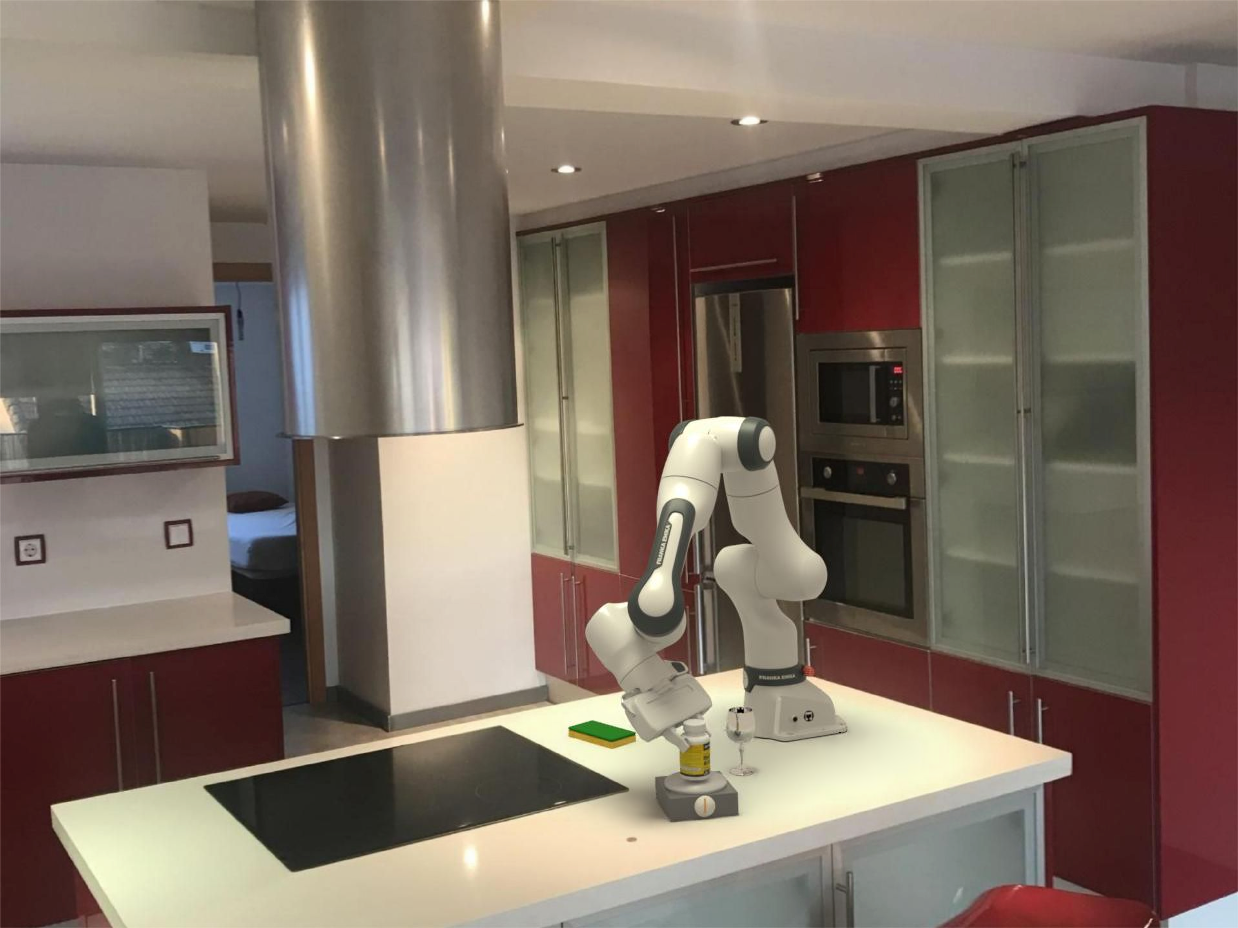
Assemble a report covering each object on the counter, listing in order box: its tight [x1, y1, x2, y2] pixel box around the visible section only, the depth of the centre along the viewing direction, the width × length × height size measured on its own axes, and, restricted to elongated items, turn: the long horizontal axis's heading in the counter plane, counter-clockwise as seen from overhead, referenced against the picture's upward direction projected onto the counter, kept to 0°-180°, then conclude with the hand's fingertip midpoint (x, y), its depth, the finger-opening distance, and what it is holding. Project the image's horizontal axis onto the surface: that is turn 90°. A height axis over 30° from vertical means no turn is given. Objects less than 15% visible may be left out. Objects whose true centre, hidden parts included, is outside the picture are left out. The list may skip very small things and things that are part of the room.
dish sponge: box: [567, 719, 637, 750], centre depth 271 cm, size 7×14×2 cm, turn 43°
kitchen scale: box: [654, 770, 739, 823], centre depth 228 cm, size 12×13×5 cm
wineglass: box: [725, 706, 756, 776], centre depth 246 cm, size 6×6×12 cm
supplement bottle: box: [679, 719, 711, 780], centre depth 228 cm, size 5×5×10 cm
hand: (697, 744), depth 227 cm, fingers closed on supplement bottle, 5 cm apart
